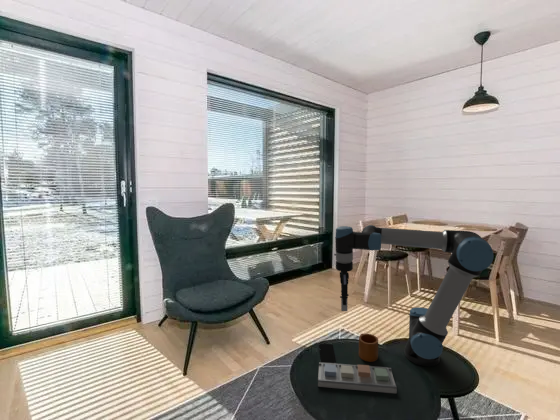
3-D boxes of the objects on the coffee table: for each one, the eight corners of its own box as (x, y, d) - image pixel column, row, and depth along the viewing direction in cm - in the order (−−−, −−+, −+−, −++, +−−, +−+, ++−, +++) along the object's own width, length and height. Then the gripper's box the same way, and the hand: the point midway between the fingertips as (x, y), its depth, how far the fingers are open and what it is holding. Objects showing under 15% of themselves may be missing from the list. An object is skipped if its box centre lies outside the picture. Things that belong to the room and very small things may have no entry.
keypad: (390, 373, 133) (390, 367, 132) (396, 393, 121) (396, 387, 121) (319, 367, 138) (319, 361, 138) (318, 386, 126) (317, 380, 126)
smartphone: (320, 362, 141) (318, 343, 156) (320, 364, 141) (318, 345, 156) (336, 362, 141) (332, 343, 155) (336, 364, 141) (332, 345, 155)
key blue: (335, 369, 133) (335, 364, 133) (336, 376, 128) (336, 372, 128) (324, 368, 134) (324, 363, 133) (324, 375, 129) (324, 371, 129)
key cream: (352, 370, 132) (352, 366, 131) (353, 377, 127) (353, 373, 127) (341, 369, 133) (341, 365, 132) (341, 376, 128) (341, 372, 128)
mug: (371, 346, 153) (372, 329, 152) (380, 361, 141) (381, 343, 140) (354, 346, 153) (354, 330, 151) (361, 362, 141) (362, 344, 140)
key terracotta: (369, 369, 130) (369, 365, 130) (370, 377, 126) (370, 372, 125) (357, 368, 131) (357, 364, 131) (358, 376, 127) (358, 371, 126)
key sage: (386, 373, 129) (386, 368, 129) (388, 380, 125) (388, 376, 124) (374, 372, 130) (374, 367, 130) (376, 379, 126) (376, 375, 125)
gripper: (335, 256, 144) (335, 303, 147) (335, 265, 131) (336, 316, 134) (351, 256, 143) (351, 304, 146) (353, 265, 130) (353, 317, 133)
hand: (344, 310), depth 140 cm, fingers closed
